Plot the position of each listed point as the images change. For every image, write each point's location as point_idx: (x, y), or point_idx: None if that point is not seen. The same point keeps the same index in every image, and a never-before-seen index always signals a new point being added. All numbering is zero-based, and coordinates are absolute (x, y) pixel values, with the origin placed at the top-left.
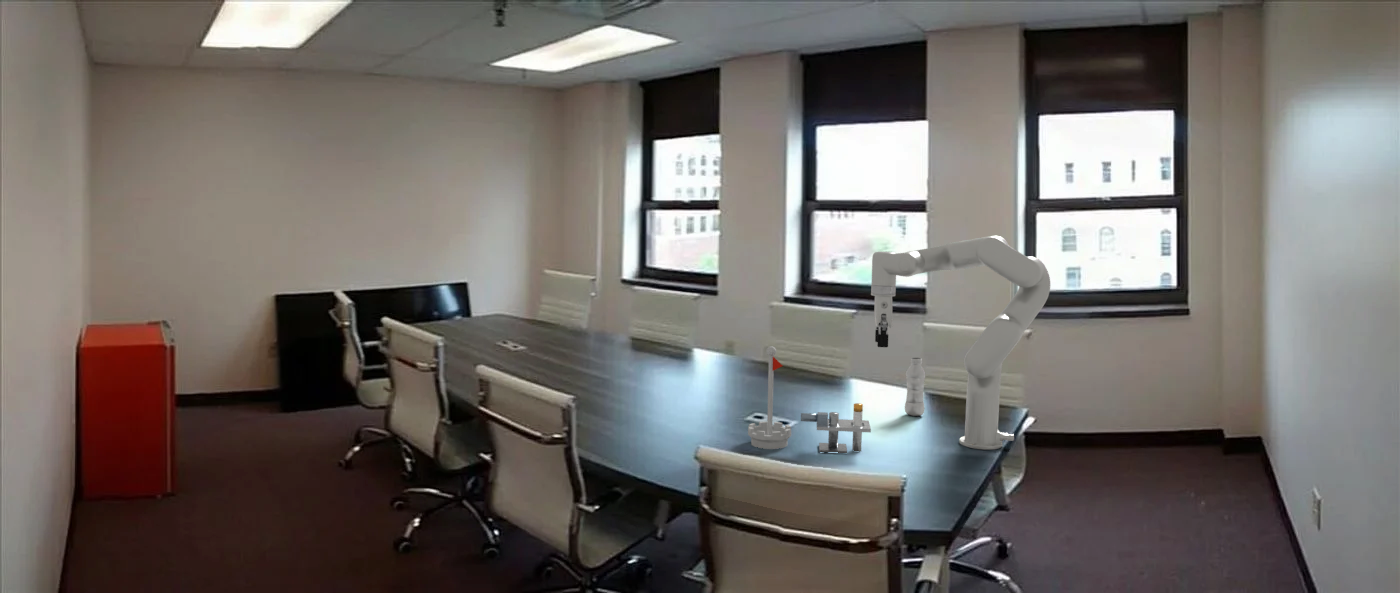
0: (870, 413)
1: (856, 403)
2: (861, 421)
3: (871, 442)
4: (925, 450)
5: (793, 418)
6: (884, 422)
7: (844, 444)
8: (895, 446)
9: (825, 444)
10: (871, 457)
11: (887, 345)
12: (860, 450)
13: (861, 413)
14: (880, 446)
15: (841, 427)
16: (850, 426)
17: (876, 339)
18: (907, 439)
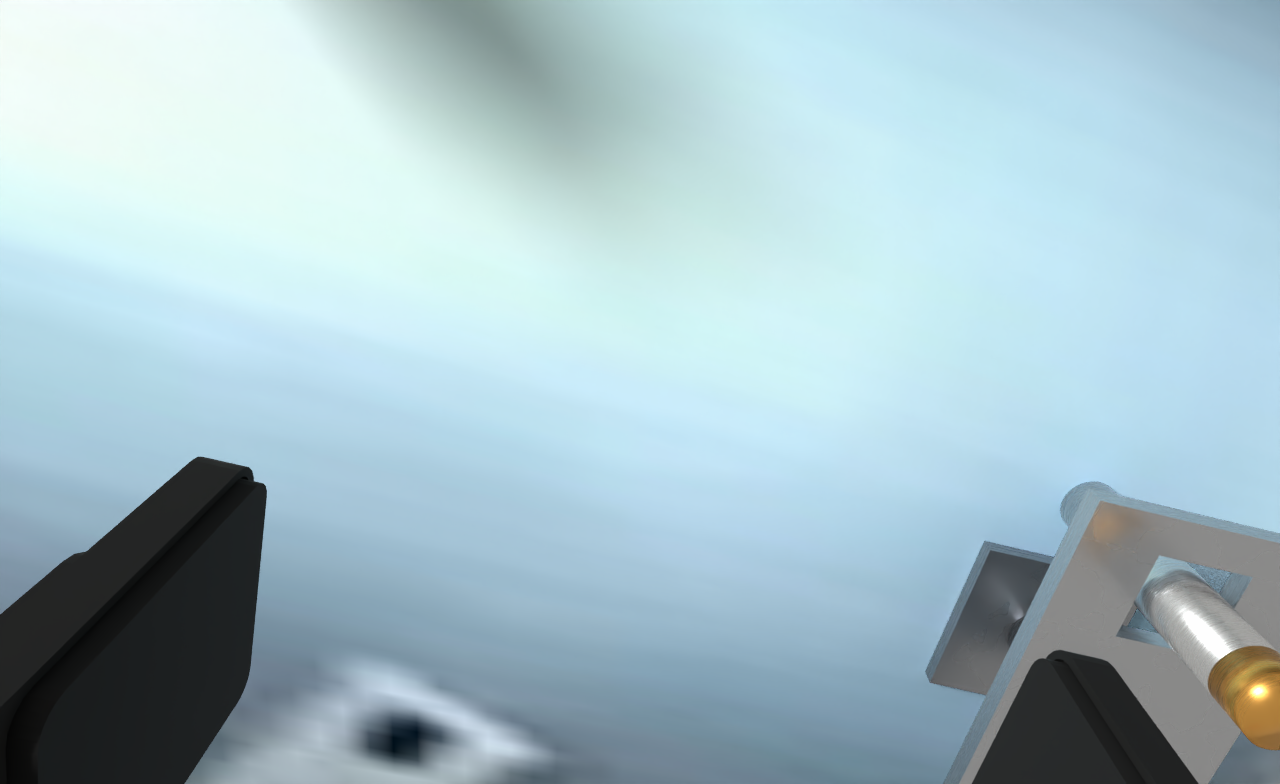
0: (70, 98)
1: (1248, 722)
2: (1230, 605)
3: (926, 360)
4: (1222, 31)
5: (294, 668)
6: (371, 75)
7: (1001, 562)
8: (1060, 227)
9: (976, 661)
10: (1251, 464)
11: (1119, 692)
12: (1116, 493)
13: (1276, 650)
14: (1034, 332)
15: (1233, 728)
16: None
17: (219, 715)
18: (900, 64)
